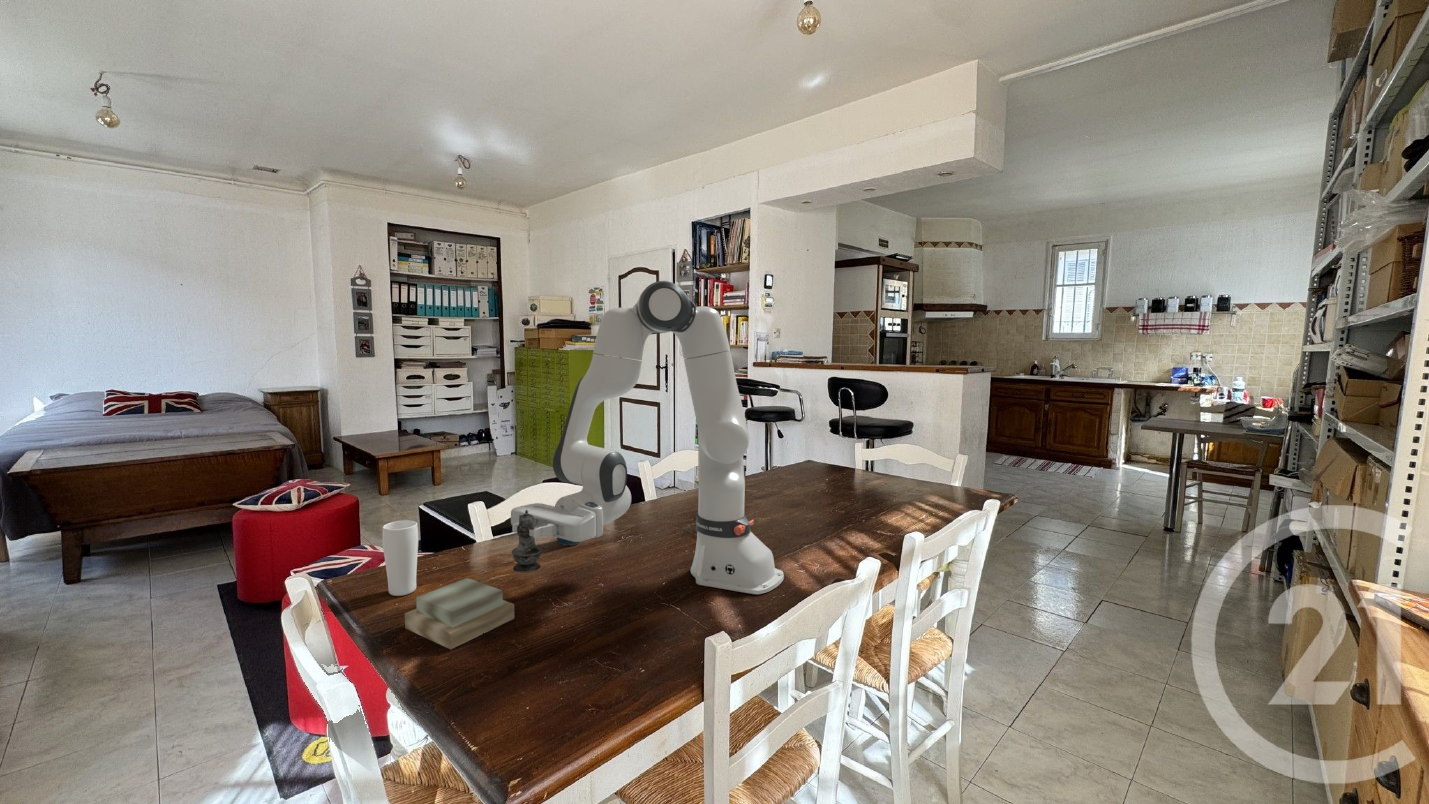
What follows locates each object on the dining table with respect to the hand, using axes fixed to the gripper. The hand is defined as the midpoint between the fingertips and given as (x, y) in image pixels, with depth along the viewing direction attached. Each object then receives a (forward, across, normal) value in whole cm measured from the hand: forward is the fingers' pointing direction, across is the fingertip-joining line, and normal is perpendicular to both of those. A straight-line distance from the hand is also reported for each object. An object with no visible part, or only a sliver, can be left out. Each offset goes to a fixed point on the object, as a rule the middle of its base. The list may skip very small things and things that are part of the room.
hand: (523, 531), depth 116 cm
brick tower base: (+10, -7, +17) cm, 21 cm away
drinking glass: (+8, -30, +17) cm, 35 cm away
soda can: (-35, -23, +17) cm, 46 cm away
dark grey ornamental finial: (-1, 0, +8) cm, 8 cm away
